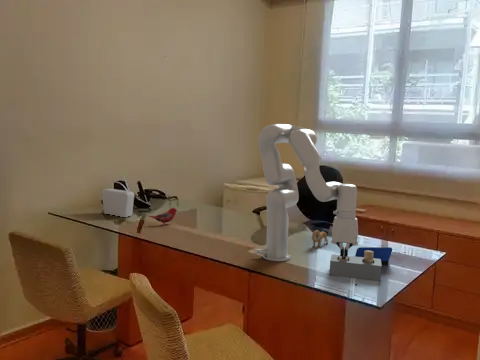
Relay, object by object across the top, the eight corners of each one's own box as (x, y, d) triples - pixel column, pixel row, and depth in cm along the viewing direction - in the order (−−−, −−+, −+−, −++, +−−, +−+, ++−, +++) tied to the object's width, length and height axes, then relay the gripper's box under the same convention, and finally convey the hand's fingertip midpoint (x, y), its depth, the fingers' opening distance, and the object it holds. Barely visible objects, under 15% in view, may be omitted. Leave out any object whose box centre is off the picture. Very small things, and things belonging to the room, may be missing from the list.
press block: (329, 275, 198) (330, 260, 197) (331, 267, 208) (331, 254, 207) (380, 280, 193) (381, 265, 192) (379, 272, 203) (380, 258, 202)
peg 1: (337, 273, 200) (338, 258, 200) (338, 270, 204) (339, 256, 203) (346, 274, 199) (347, 259, 199) (347, 271, 203) (348, 257, 202)
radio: (136, 216, 298) (136, 176, 295) (126, 218, 291) (126, 177, 288) (111, 211, 310) (111, 172, 307) (101, 213, 303) (100, 174, 300)
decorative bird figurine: (178, 225, 279) (178, 207, 277) (147, 226, 272) (147, 209, 271) (177, 224, 281) (177, 207, 280) (146, 225, 275) (146, 208, 273)
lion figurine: (319, 250, 235) (320, 231, 234) (309, 248, 238) (310, 230, 237) (329, 243, 248) (330, 226, 247) (319, 242, 251) (320, 224, 249)
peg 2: (363, 266, 197) (364, 252, 197) (363, 264, 201) (364, 250, 200) (372, 267, 197) (373, 253, 196) (372, 265, 200) (373, 250, 199)
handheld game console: (381, 259, 224) (383, 239, 222) (392, 268, 210) (393, 247, 209) (347, 258, 223) (349, 239, 221) (356, 268, 209) (357, 247, 208)
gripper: (326, 214, 197) (324, 259, 199) (365, 217, 193) (362, 262, 195) (328, 211, 204) (326, 254, 206) (365, 214, 200) (362, 257, 203)
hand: (343, 258), depth 201 cm, fingers closed
